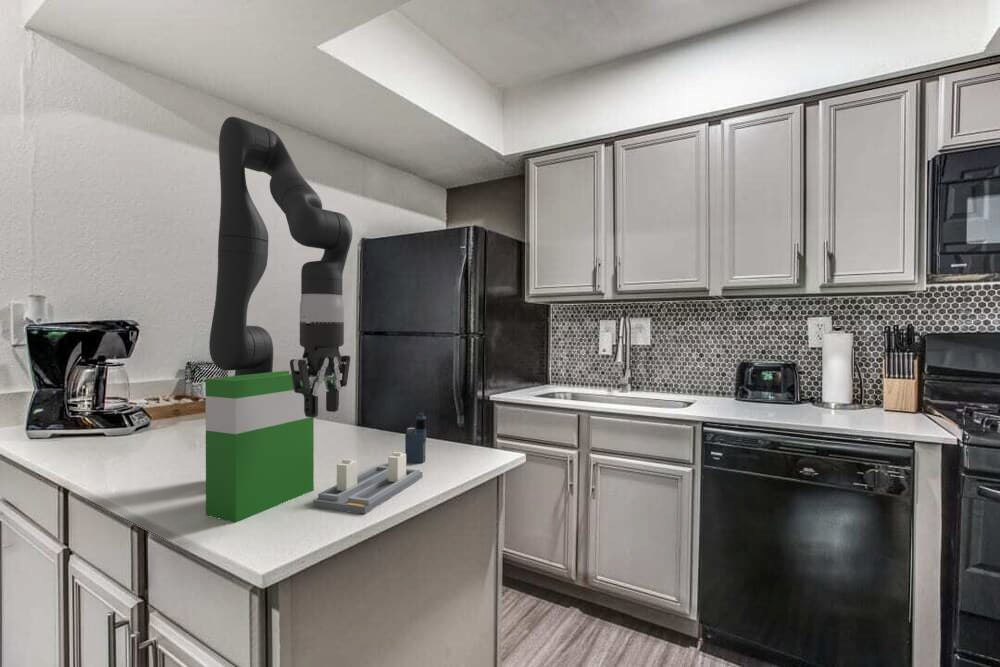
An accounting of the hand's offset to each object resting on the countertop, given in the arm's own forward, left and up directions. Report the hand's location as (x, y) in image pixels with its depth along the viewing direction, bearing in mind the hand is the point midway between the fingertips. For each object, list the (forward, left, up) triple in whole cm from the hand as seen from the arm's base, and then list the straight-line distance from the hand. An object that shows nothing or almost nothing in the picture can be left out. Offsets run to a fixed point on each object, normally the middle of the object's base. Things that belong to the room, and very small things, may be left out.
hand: (322, 413), depth 88 cm
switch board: (+3, +12, -17) cm, 21 cm away
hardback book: (-13, 0, -18) cm, 22 cm away
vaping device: (+1, +34, -18) cm, 38 cm away
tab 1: (0, +8, -16) cm, 18 cm away
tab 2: (+6, +16, -16) cm, 23 cm away
